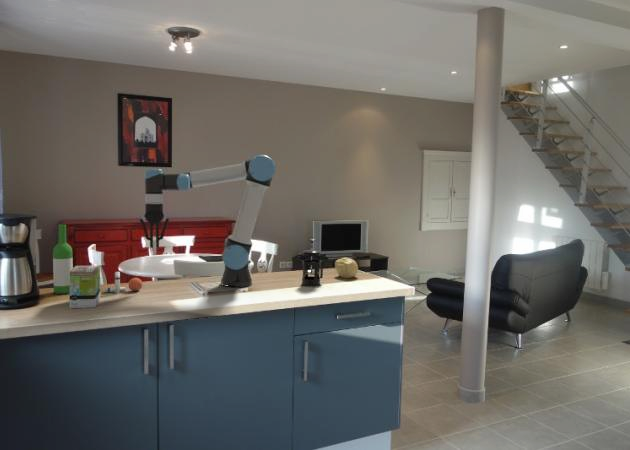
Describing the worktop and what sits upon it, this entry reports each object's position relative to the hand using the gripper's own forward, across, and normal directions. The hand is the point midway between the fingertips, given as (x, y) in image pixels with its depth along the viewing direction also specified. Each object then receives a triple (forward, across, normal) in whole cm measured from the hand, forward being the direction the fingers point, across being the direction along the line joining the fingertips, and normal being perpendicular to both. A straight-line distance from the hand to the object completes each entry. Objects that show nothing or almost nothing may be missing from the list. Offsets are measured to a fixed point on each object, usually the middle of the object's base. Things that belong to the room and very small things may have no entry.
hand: (154, 254), depth 236 cm
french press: (+17, -75, +4) cm, 77 cm away
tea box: (+17, +28, +19) cm, 38 cm away
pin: (+16, +16, +3) cm, 23 cm away
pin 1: (+16, +16, -2) cm, 23 cm away
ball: (+13, +8, 0) cm, 16 cm away
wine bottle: (+16, +38, -4) cm, 42 cm away
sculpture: (+18, -101, -10) cm, 103 cm away
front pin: (+15, +13, 0) cm, 20 cm away
